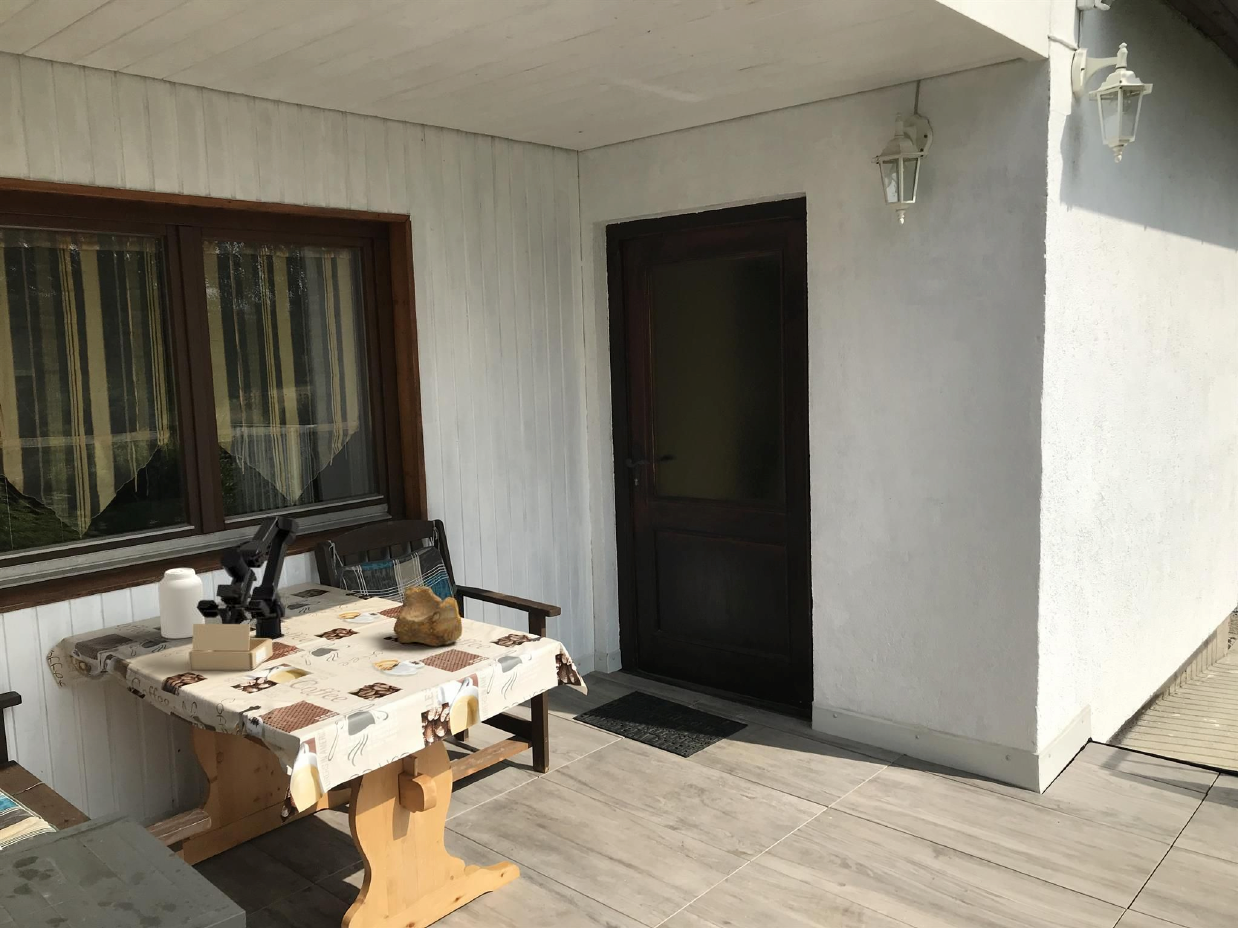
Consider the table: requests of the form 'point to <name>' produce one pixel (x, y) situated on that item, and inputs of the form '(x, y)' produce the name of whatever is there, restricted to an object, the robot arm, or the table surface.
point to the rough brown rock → (427, 618)
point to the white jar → (180, 603)
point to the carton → (232, 657)
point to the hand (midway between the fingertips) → (224, 635)
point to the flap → (221, 637)
